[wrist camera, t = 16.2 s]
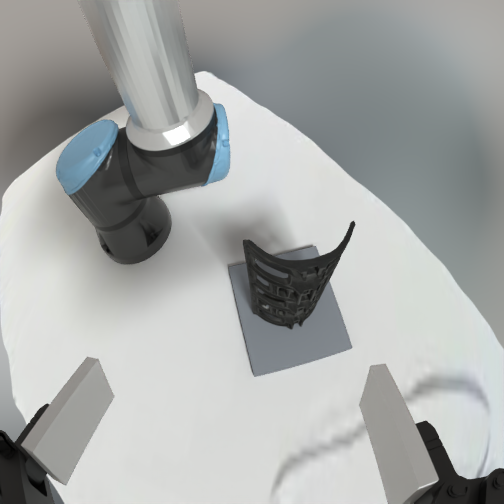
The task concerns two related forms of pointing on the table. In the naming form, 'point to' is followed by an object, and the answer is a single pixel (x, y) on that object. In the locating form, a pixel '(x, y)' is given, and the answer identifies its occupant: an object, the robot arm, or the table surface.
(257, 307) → the holder
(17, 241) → the table surface
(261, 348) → the mat
